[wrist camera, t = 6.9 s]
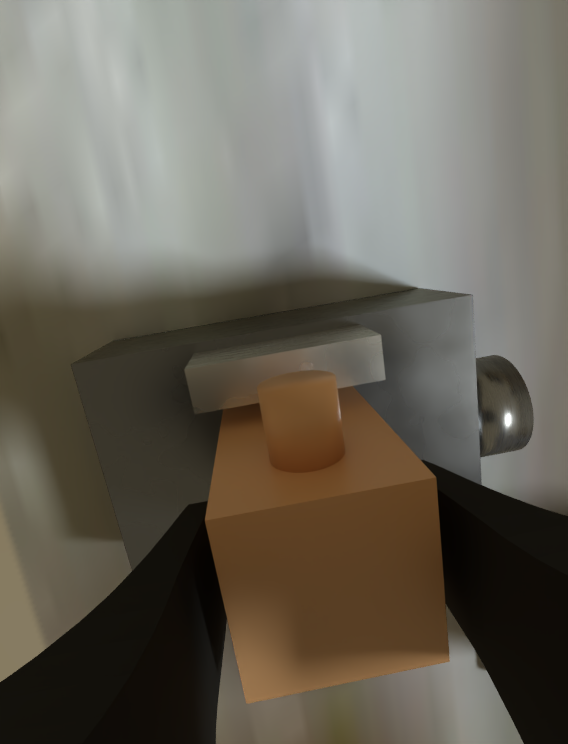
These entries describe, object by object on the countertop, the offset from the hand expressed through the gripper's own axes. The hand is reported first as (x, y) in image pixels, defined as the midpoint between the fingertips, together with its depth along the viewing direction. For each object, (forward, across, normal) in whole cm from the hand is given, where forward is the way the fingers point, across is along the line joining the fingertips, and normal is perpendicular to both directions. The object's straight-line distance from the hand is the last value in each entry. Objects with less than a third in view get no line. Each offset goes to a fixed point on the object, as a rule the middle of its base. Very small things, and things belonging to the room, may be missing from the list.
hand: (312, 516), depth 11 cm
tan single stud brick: (+3, 0, 0) cm, 3 cm away
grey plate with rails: (+7, 0, 0) cm, 7 cm away
